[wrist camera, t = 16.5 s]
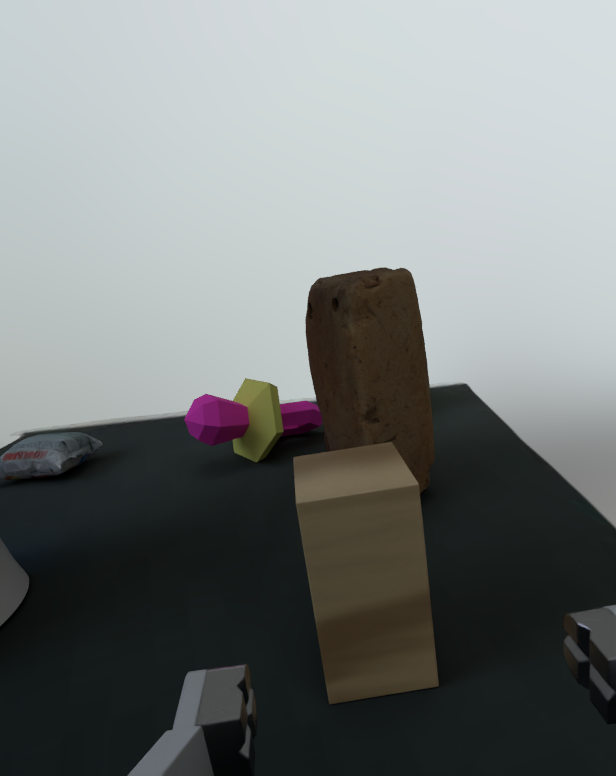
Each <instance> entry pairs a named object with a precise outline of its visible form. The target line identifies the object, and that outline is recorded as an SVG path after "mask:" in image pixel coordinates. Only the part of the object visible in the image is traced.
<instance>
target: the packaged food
mask: <svg viewBox="0 0 616 776" xmlns="http://www.w3.org/2000/svg"><path fill="white" fill-rule="evenodd" d="M102 444H103V443H102V442H100V441H99V440H97V439H95V438H93V437H91V436H89V435H86V434H84V433H81V432H72V433H50V434H42V435H37V436H33V437H29V438H26V439H24V440H22V441H20V442H19V443H17V444H15V445H13V446H12V447H11V448H10V449H9V450H8V451H6V452H5V453H4V454H3V455H2V456H1V457H0V478H2V479H7V480H16V479H27V478H46V477H52V476H57V475H60V474H62V473H64V472H66V471H68V470H70V469H72V468H74V467H76V466H78V465H80V464H81V463H82V462H84V461H86V460H87V459H88V458H90V457H91V456H92V455H93V454H94V453H95V451H96V450H97V449H98V448H99V447H100V446H102Z"/></svg>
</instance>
